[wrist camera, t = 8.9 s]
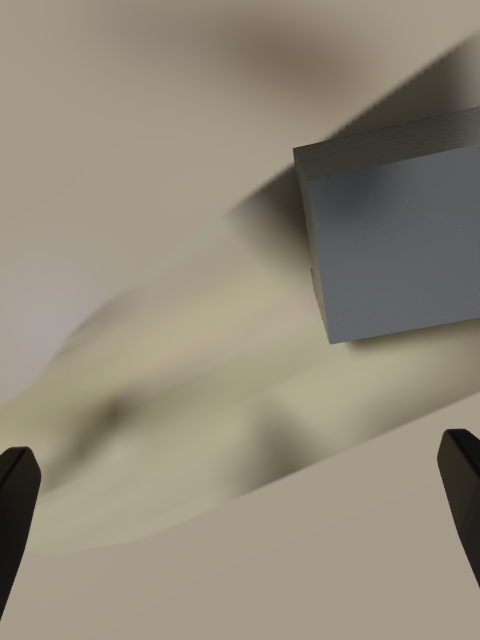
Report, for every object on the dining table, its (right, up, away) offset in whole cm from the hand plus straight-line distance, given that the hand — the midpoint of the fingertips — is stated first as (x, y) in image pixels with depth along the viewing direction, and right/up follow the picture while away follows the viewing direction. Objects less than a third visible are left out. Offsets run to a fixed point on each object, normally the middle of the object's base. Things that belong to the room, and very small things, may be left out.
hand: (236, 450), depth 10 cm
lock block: (+7, +8, +8) cm, 13 cm away
